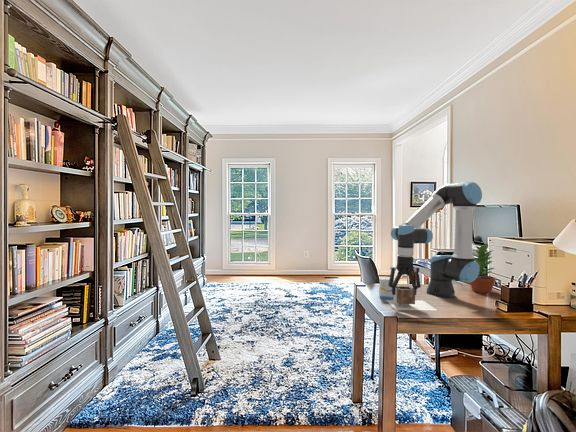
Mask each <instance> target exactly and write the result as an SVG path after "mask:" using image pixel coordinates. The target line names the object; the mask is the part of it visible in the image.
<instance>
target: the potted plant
mask: <svg viewBox="0 0 576 432" xmlns="http://www.w3.org/2000/svg"><path fill="white" fill-rule="evenodd" d="M488 247H489V243H487V244H481V245H480V246H477V245H475V248H476V249H477V250H476V249H474V252H476V253H477V255H476V254H475V253H474V252H472V255H473V256H474V255H475V256H474V257H475V262H477V263H478V265H479V268H480V271H479V275H478V277H477V278H476V279H475V280H474V281H473V282H470V285H471V291H472V292H474V293H475V292H476V293H480V294H481V293H482V294H491V293H492V291H493V288H494V284H495V282H496V279H497V278H496V277H494V276H490V275H488V274H490V273H491V272H493V270H494V269H496V267H490V268H485V267H486V266H488V265H490V264H492V262H494V260H490V259H492V258H493V256H491V255H492V252H494V250H495V249H494V250H493V249H492V250H489V251H487V250H488Z"/></svg>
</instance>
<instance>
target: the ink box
mask: <svg viewBox="0 0 576 432" xmlns="http://www.w3.org/2000/svg"><path fill="white" fill-rule="evenodd" d="M395 278H396V277H394V280H395ZM389 279H390V276H380V277H379V290H378V292H379V293H378V294H379V295H378V297H379V298H380V299H381V300H393V294H392V287H389V286H388V284H389ZM394 280H393V283H394Z"/></svg>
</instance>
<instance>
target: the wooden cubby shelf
mask: <svg viewBox="0 0 576 432" xmlns="http://www.w3.org/2000/svg"><path fill="white" fill-rule="evenodd" d="M396 288H397V303H398V304H415V300H416V295H415V289H413V287H411V286H409V285H397V286H396ZM393 300H394V295H393Z"/></svg>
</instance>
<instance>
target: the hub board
mask: <svg viewBox="0 0 576 432" xmlns="http://www.w3.org/2000/svg"><path fill="white" fill-rule="evenodd" d="M385 301H386V302H387V303H388V304H389V305H390V306H392V307H391V309H392V310H393V311H394V312H395V313H404V311H436V312H437V311H438V309H436V308H435V307H434V306H432V305H430V304H429V303H427V302H426V301H425V300H418V299H417V300H416V299H415V304H398V303H397V302H395V301H394V300H392V299H385Z"/></svg>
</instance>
